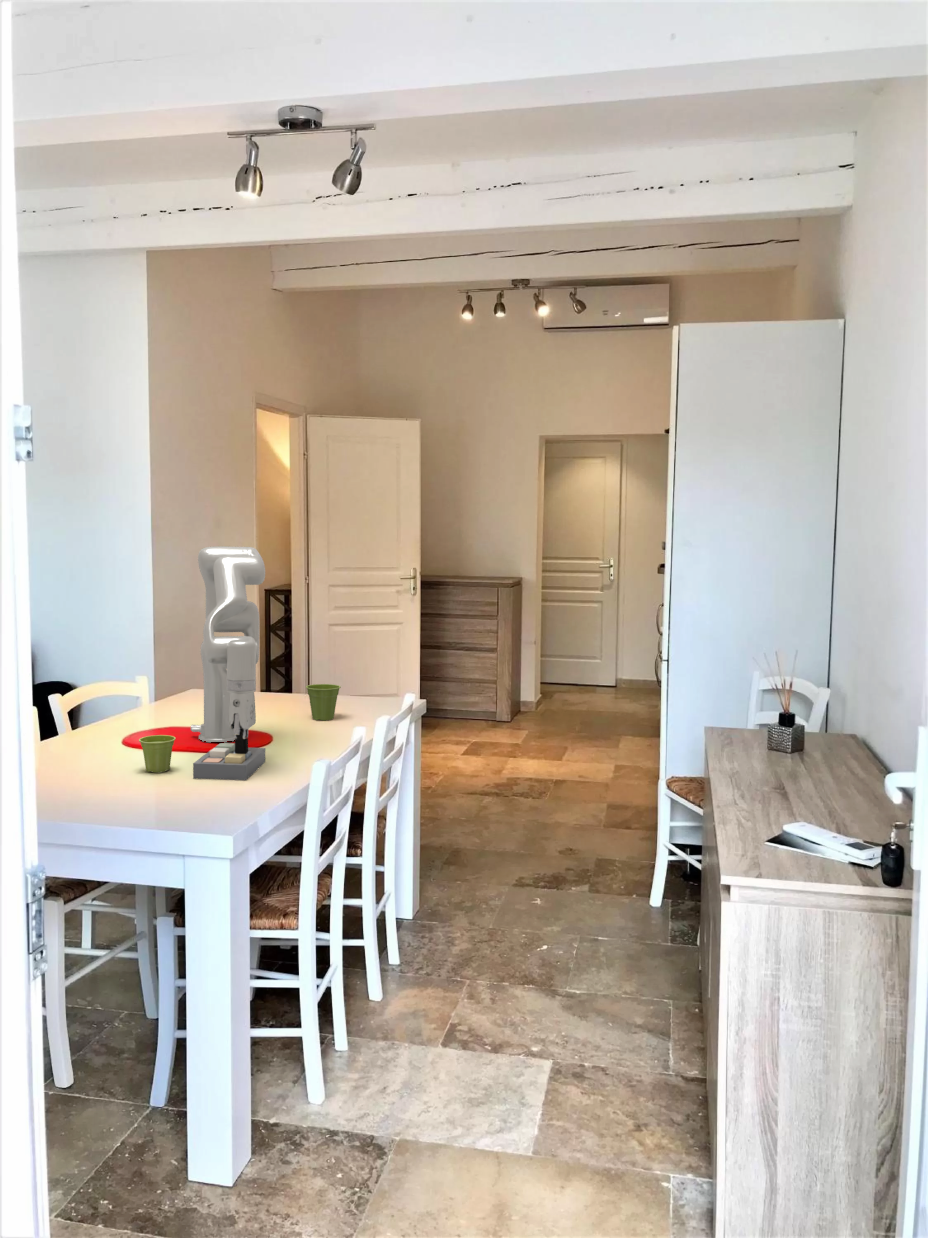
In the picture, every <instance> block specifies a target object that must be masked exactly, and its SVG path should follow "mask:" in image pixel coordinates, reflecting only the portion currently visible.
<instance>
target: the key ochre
mask: <svg viewBox="0 0 928 1238" xmlns="http://www.w3.org/2000/svg"><path fill="white" fill-rule="evenodd" d="M244 761H245V754H231V753H230V754H228V755H227V756H226V757H225V763H236V764H242V763H243V762H244Z"/></svg>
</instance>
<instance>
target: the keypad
mask: <svg viewBox="0 0 928 1238" xmlns="http://www.w3.org/2000/svg"><path fill="white" fill-rule="evenodd" d="M214 748H216V746H215V747H214ZM248 751H251V756H250V757H249V758H245V761H244V762H243V763H242V764H236V763H225V758H224V757H210V750H209V751H208V752H207V753H205V754H204V755H203V756H201V757H200V758H198V759H197V760H195V761H194V762H193V763H192V768H193V769H192V772H193V773H192V778H193V779H196V778H198V779H199V780H225V781H226V780H227V781H229V780H230V781H247V780H248V779H249V778H251V776H252V775H254V773H256V772H257V771H258V768H259V769H260V768H261V767H262V766H263V765H264V764H265V763H266V747H248ZM234 752H235V751H234ZM234 752H229V754H230V753H231V754H233V753H234ZM207 758H222V759H223V760H222V761H221V762H220V763H208V762H203V761H204V760H205V759H207Z"/></svg>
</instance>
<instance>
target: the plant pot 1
mask: <svg viewBox="0 0 928 1238" xmlns="http://www.w3.org/2000/svg"><path fill="white" fill-rule="evenodd" d="M138 741H139V743H140V745H141V748H142V753H143V759H144V766H145V770H146V772H148V773H150V772H152V773H154V774H155V773H156V774H158V773H164V772H166V771H169V770H170V769H171V761H172V754H173V753H172V752H173V746H174V745H175V741H176V737H175V736H174V735H167V734H156V735H147V736H143V737H140V738H139V739H138Z"/></svg>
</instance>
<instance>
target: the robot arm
mask: <svg viewBox="0 0 928 1238" xmlns="http://www.w3.org/2000/svg"><path fill="white" fill-rule="evenodd" d="M197 555H198V556H197V563H198V569H199V572H200V574H201V577H202V580H203V583H204V587H205V588H204V589H205V622H204V624H203V631H202V634H203V635H202V636H203V637H202V638H203V641H202V643H201V644H200V656H201V657H200V658H201V663H202V671H203V673H202V675H203V723H202V724H190V731H191V732H193V733H200V734H199V735H198V740H199V739H200V740H202V741H201V742H204V741H206V742H205V743H211V742H224V743H228V742H227V741H232V742H234V743H235V753H236V754H246V753H248V748H249V729H250V728H251V727H253V726H254V725H255V724H256V721H257V719H256V717H257V715H256V714H257V712H256V697H255V692H256V691H257V685H256V684H257V679H256V678H257V676H256V675H257V664H258V662H259V659H260V612H259V608H258V605H257V604H256V603H255V602H253V601H249V600H248V596H247V589H246V588H247V586H254V585H255V586H259V585H261V584H263V582H265V579H266V578H265V577H266V566H265V565H266V564H265V562H264V559H263V557H262V556H261V554H260V553H259V551H258V549H256V548H255V547H253V546H223V545H222V546H219V545H218V546H206V547H204V548H202V549H200V550H199V552H198V554H197ZM215 633H242V634H243V635H240V636H238V635H237V636H234V635H233V636H232V635H231V636H230V635H227V636H224V635H222V636H215ZM200 740H199V741H200ZM234 740H235V741H234Z"/></svg>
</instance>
